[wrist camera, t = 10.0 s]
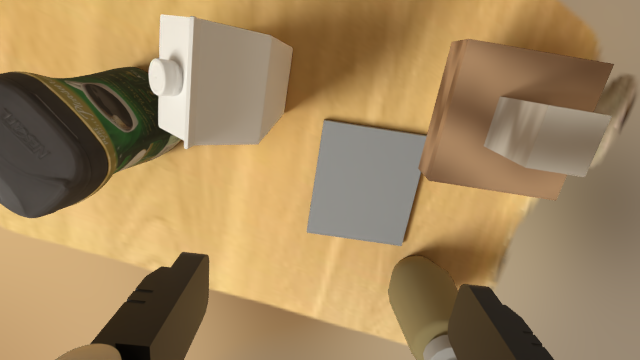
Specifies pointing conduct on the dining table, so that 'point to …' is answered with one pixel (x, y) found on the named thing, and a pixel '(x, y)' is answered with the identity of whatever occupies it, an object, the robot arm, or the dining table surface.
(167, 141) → the coffee jar
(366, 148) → the rubber mat
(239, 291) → the dining table surface
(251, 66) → the milk carton
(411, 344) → the squeeze bottle
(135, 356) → the robot arm
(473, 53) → the tan plate with knob
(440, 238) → the dining table surface
